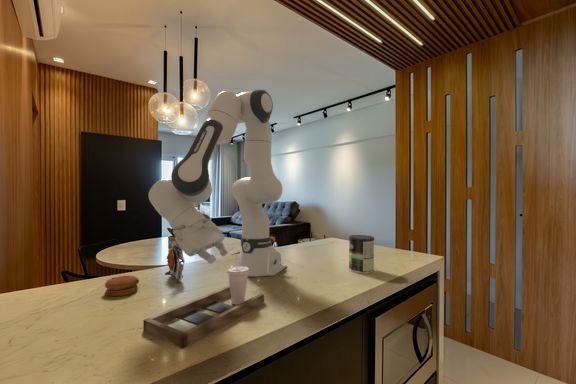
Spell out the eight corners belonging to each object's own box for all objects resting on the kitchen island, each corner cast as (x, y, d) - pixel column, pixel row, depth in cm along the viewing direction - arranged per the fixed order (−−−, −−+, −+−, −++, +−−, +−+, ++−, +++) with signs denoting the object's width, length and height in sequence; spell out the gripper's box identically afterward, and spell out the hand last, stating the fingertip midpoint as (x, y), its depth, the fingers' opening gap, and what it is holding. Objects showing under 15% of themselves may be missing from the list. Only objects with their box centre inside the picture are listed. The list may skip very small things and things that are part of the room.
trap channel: (228, 293, 87) (228, 285, 87) (264, 302, 80) (264, 294, 80) (143, 330, 63) (143, 319, 63) (182, 348, 56) (182, 336, 56)
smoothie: (222, 302, 80) (222, 254, 80) (240, 296, 85) (240, 251, 85) (235, 308, 76) (235, 257, 76) (253, 301, 80) (253, 254, 81)
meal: (162, 274, 108) (163, 241, 108) (174, 272, 110) (174, 240, 110) (172, 284, 95) (172, 247, 96) (184, 282, 98) (185, 245, 98)
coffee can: (350, 273, 111) (350, 238, 111) (348, 266, 121) (348, 234, 121) (376, 274, 109) (376, 239, 109) (372, 267, 119) (372, 235, 120)
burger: (134, 295, 85) (135, 280, 85) (100, 299, 82) (100, 283, 82) (141, 285, 94) (141, 272, 95) (110, 288, 92) (110, 274, 92)
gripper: (177, 220, 72) (212, 258, 71) (210, 214, 92) (238, 244, 91) (162, 236, 73) (196, 275, 71) (198, 227, 93) (225, 257, 91)
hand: (220, 258), depth 81 cm, fingers open, 8 cm apart
